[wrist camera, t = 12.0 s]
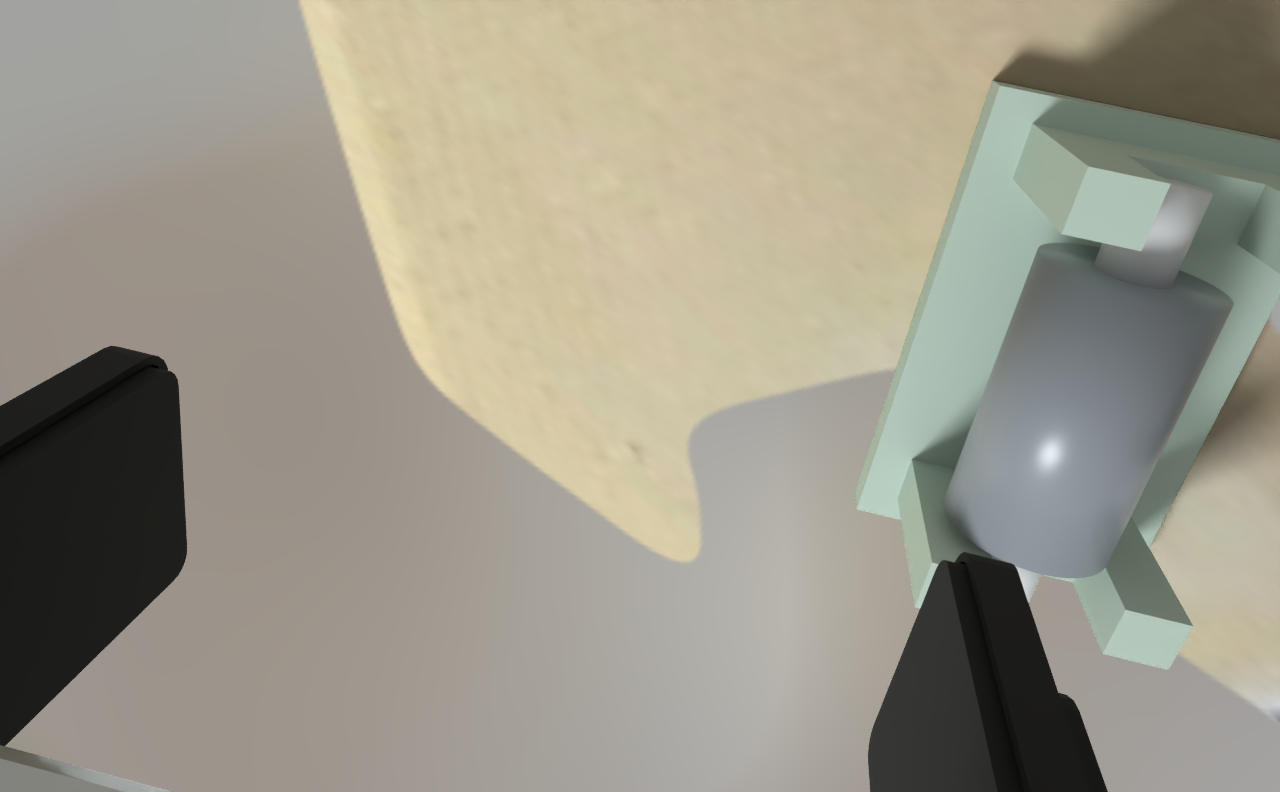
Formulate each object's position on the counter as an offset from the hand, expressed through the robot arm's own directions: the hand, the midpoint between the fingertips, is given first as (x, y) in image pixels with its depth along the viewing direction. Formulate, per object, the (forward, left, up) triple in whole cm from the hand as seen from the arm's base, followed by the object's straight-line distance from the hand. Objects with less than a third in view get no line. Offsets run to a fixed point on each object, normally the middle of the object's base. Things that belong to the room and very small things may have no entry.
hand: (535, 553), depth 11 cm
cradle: (+5, +15, -28) cm, 32 cm away
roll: (+5, +16, -25) cm, 30 cm away
